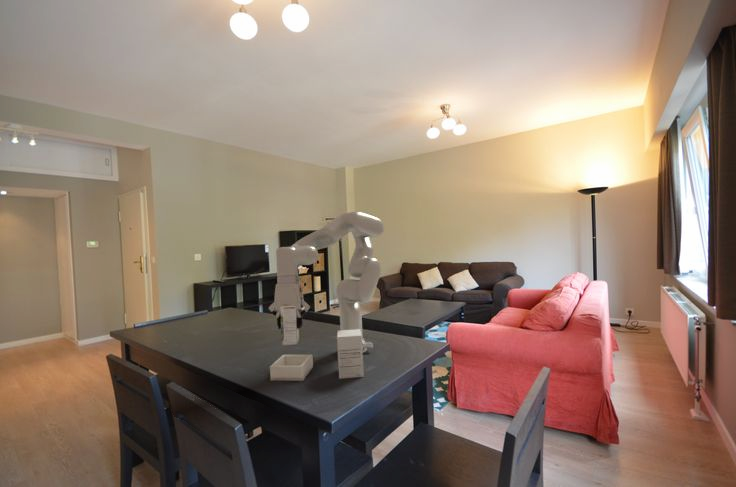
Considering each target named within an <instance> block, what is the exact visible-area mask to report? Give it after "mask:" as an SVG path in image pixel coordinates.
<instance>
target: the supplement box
mask: <svg viewBox="0 0 736 487" xmlns="http://www.w3.org/2000/svg"><path fill="white" fill-rule="evenodd" d="M336 331H337V333H336V342H337V343H336V344H337V362H338V364H337V365H338V379H339V380H340V379H353V378H363V377H364V376H365V375H364V357H363V354H364V353H362V336H361V331H360V329H355V330H341V329H340V330H336Z"/></svg>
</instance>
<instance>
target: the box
mask: <svg viewBox="0 0 736 487" xmlns="http://www.w3.org/2000/svg"><path fill="white" fill-rule="evenodd" d="M313 368H314V360H313V354H282V355H281V356H280V357H279V358H278V359H276V360H275V361H274V362H273V363H272V364H271V365H270V366H269V371H270V372H269V374H270V375H269V376H270V378H269V379H270V381H285V382H286V381H287V382H288V381H290V382H291V381H293V382H294V381H296V382H297V381H299V382H302V381H304V380H305V379H306V377H307V376H308V375H309V374H310V372H311V371H312V369H313Z"/></svg>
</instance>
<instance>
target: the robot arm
mask: <svg viewBox="0 0 736 487" xmlns="http://www.w3.org/2000/svg"><path fill="white" fill-rule="evenodd" d="M384 231H385V226H384V222H383V221H382V220H381V219H380V218H378V217H376V216H373V215H370V214H367V213H364V212H361V211H350V212H344V213H341V214H339V215H338V216H336V217H334V219H332V220H331V221H328V223H327V224H326V225H324V226H322V227H321V228H318V229H317V230H315V231H313V232H312V233H309V234H307V235H305V236H304V237H302V238H300V239H299V240H297V241H296V242H295V243H293V244H292V245H290V246H281V247H277V248H276V251H275V257H276V260H275V261H276V276H277V280H276V281H277V283H276V284H275V289H274V301H273V302H272V303H271V304H270V305H269V307H268V310H269V311H270V312H271V313H272V314H273V315H274V316H275V318H276V320H277V321H276V322H277V324H276V326H278V329H279V330H281V311H280V307H281V306H283V305H294V306H295V307H296V314H297V316H298V318H297V329H299V330H300V329H301V328H302V326H303V316H304V315H305V314H306V313H307V311H308V310H310V308H311V306H310V305H309V304H308V302H306V301H305V300H304V299H305V298H304V293H303V288H302V284H301V282H299V281H302V276H299V273H298V267H299V266H300V265H301V266H303V265H304V266H310V265H312V264H315V263H316V262H317V261H318V258H319V252H318V250H321V249H325V248H328V247H331V246H334V245H335V244H336V243H338V242H339V241H340V240H341V239H342V238H344V237H345V236H346V235H347V234H349V233H351V234H352V235H353V238H354V244H355V248H354V251H353V253H352V256H351V258H350V261H349V264H348V267H347V273H348V275H349V276H350V277H351V278H352V279H350V278H345V279H342V280H341V281H340V282H338V283H337V286H336V289H335V290H336V297H337V300H338V307H339V308H338V309H339V323H340V330H355V329H360V331H361V336H362V354H364V353H366V352H367V350H368V349H367V348H373V347H374V344H373V342H371V341H365V338H363V319H362V317H363V316H362V308H361V304H365V303H368V302H370V300H372V298H373V296H374V294H375V292H376V289H377V285H378V283H379V280H380V276H381V274H382V266H381V263H380V261H379V260H378V259H376V258H375V257H372V256H373V254H374V246H373V243H372V241H371V239H370V238H378V237H380V236H381V235H382V234H383V233H384ZM353 278H354V279H353ZM360 303H361V304H360Z"/></svg>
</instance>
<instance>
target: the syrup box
mask: <svg viewBox="0 0 736 487" xmlns="http://www.w3.org/2000/svg"><path fill="white" fill-rule="evenodd" d="M280 311H281V329H280V337H281V338H280V339H281V340H280V341H281V343H280V344H281V346H291V345H297V344H299V341H300V328H299V329H297V318H298V316H297V314H296V307H295V306H294V305H283V306H281V307H280Z"/></svg>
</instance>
